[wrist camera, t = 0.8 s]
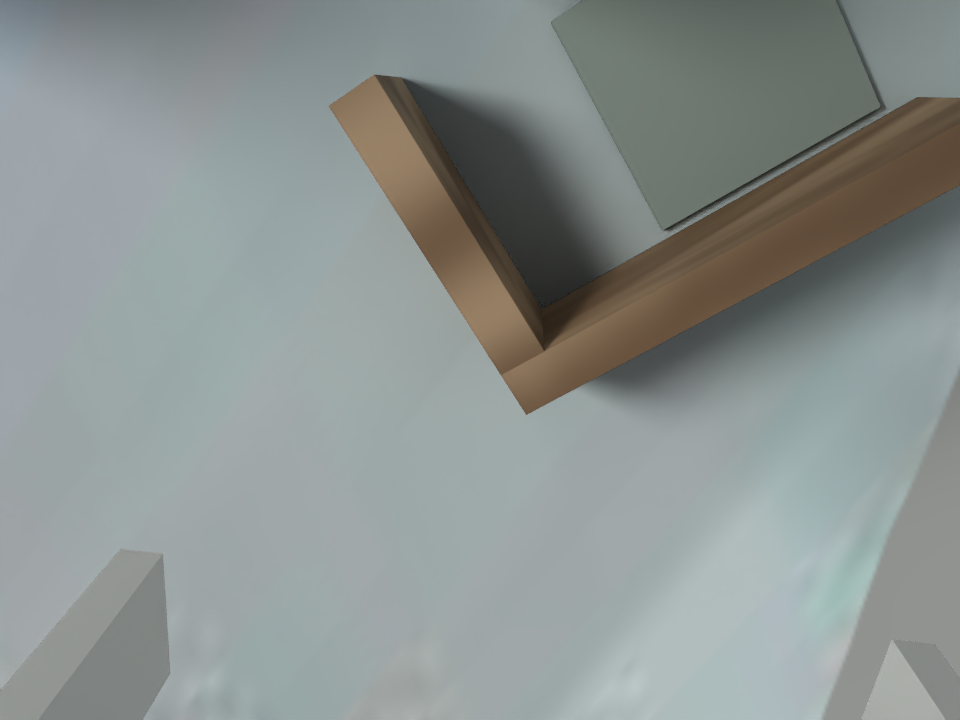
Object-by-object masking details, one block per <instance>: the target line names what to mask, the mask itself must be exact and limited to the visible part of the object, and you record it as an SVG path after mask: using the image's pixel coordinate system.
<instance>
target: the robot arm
mask: <svg viewBox="0 0 960 720" xmlns="http://www.w3.org/2000/svg"><path fill="white" fill-rule="evenodd" d="M169 674H170V662H169V645H168V629H167V613H166V597H165V580H164V564H163V554H159V553H151V552H142V551H134V550H125V549H120V550H119V552H118V553H117V554H116V555H115V556H114V558H113V559H112V560H111V561H110V562H109V563H108V565H107V566H106V567H105V568H104V569H103V570H102V572H101V573H100V574H99V575H98V576H97V578H96V579H95V580H94V581H93V582H92V583H91V585H90V586H89V587H88V588H87V589H86V590H85V592H84V593H83V594H82V595H81V596H80V597H79V599H78V600H77V601H76V602H75V603H74V605H73V606H72V607H71V608H70V609H69V610H68V612H67V613H66V614H65V615H64V616H63V617H62V619H61V620H60V621H59V622H58V623H57V624H56V626H55V627H54V628H53V629H52V630H51V632H50V633H49V634H48V635H47V636H46V637H45V639H44V640H43V641H42V642H41V643H40V644H39V646H38V647H37V648H36V649H35V650H34V652H33V653H32V654H31V655H30V656H29V657H28V659H27V660H26V661H25V662H24V663H23V664H22V666H21V667H20V668H19V669H18V670H17V671H16V673H15V674H14V675H13V676H12V677H11V679H10V680H9V681H8V682H7V683H6V684H5V686H4V687H3V688H2V689H1V690H0V720H143V718H144V717H145V715H146V713H147V712H148V710H149V708H150V706H151V705H152V703H153V701H154V700H155V698H156V696H157V695H158V693H159V691H160V689H161V688H162V686H163V684H164V683H165V681H166V679H167V678H168V676H169ZM862 720H960V678H959V676H958V675H957V673H956V672H955V671H954V669H953V668H952V667H951V665H950V664H949V662H948V661H947V660H946V658H945V657H944V656H943V654H942V653H941V652H940V650H939V649H938V648H937V646H936V645H935V644H927V643H919V642H911V641H902V640H894V639H893V640H892V641H891V644H890V646H889V649H888V651H887V654H886V657H885V659H884V662H883V665H882V667H881V670H880V672H879V675H878V678H877V680H876V683H875V686H874V689H873V691H872V694H871V696H870V699H869V701H868V704H867V707H866V709H865V712H864V715H863V717H862Z"/></svg>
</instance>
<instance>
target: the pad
mask: <svg viewBox="0 0 960 720" xmlns="http://www.w3.org/2000/svg"><path fill="white" fill-rule="evenodd" d="M551 24H552V25H553V27H554V29H555V31H556V33H557V35H558V37H559V39H560V40H561V42H562V44H563V46H564V48H565V50H566V52H567V54H568V55H569V57H570V59H571V61H572V63H573V65H574V67H575V68H576V70H577V72H578V74H579V76H580V78H581V80H582V82H583V83H584V85H585V87H586V89H587V91H588V93H589V95H590V97H591V98H592V100H593V102H594V104H595V106H596V108H597V110H598V111H599V113H600V115H601V117H602V119H603V121H604V123H605V125H606V126H607V128H608V130H609V132H610V134H611V136H612V138H613V140H614V141H615V143H616V145H617V147H618V149H619V151H620V153H621V155H622V156H623V158H624V160H625V162H626V164H627V166H628V168H629V169H630V171H631V173H632V175H633V177H634V179H635V181H636V183H637V184H638V186H639V188H640V190H641V192H642V194H643V196H644V198H645V199H646V201H647V203H648V205H649V207H650V209H651V211H652V212H653V214H654V216H655V218H656V220H657V222H658V224H659V226H660V227H661V229H662V230H664V229H666V228H668V227H670V226H672V225H673V224H675V223H677V222H679V221H680V220H682V219H684V218H686V217H687V216H689V215H691V214H693V213H694V212H696V211H698V210H700V209H701V208H703V207H705V206H707V205H708V204H710V203H712V202H714V201H716V200H717V199H719V198H721V197H723V196H724V195H726V194H728V193H730V192H731V191H733V190H735V189H737V188H738V187H740V186H742V185H744V184H745V183H747V182H749V181H751V180H752V179H754V178H756V177H758V176H760V175H761V174H763V173H765V172H767V171H768V170H770V169H772V168H774V167H775V166H777V165H779V164H781V163H782V162H784V161H786V160H788V159H789V158H791V157H793V156H795V155H796V154H798V153H800V152H802V151H804V150H805V149H807V148H809V147H811V146H812V145H814V144H816V143H818V142H819V141H821V140H823V139H825V138H826V137H828V136H830V135H832V134H833V133H835V132H837V131H839V130H841V129H842V128H844V127H846V126H848V125H849V124H851V123H853V122H855V121H856V120H858V119H860V118H862V117H863V116H865V115H867V114H869V113H870V112H872V111H874V110H876V109H877V108H879V107H881V106H880V103H879V101H878V99H877V96H876V94H875V91H874V89H873V87H872V84H871V82H870V80H869V77H868V75H867V73H866V70H865V68H864V65H863V63H862V61H861V58H860V56H859V54H858V51H857V49H856V46H855V44H854V42H853V39H852V37H851V35H850V32H849V30H848V28H847V25H846V23H845V20H844V18H843V16H842V13H841V11H840V9H839V6H838V4H837V1H836V0H583V1H582V2H580V3H579V4H577V5H576V6H574V7H573V8H571V9H570V10H568V11H567V12H565V13H564V14H562V15H561V16H559V17H558V18H556V19H555V20H553V21H552V22H551Z"/></svg>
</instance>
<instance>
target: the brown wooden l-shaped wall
mask: <svg viewBox="0 0 960 720" xmlns="http://www.w3.org/2000/svg"><path fill="white" fill-rule="evenodd" d="M329 107H330V109H331V110H332V112H333V114H334V115H335V117H336V118H337V120H338V121H339V123H340V125H341V126H342V128H343V129H344V131H345V132H346V134H347V135H348V137H349V139H350V140H351V142H352V143H353V145H354V146H355V148H356V149H357V151H358V153H359V154H360V156H361V157H362V159H363V160H364V162H365V164H366V165H367V167H368V168H369V170H370V171H371V173H372V174H373V176H374V178H375V179H376V181H377V182H378V184H379V185H380V187H381V189H382V190H383V192H384V193H385V195H386V196H387V198H388V199H389V201H390V203H391V204H392V206H393V207H394V209H395V210H396V212H397V214H398V215H399V217H400V218H401V220H402V221H403V223H404V224H405V226H406V228H407V229H408V231H409V232H410V234H411V235H412V237H413V239H414V240H415V242H416V243H417V245H418V246H419V248H420V249H421V251H422V253H423V254H424V256H425V257H426V259H427V260H428V262H429V264H430V265H431V267H432V268H433V270H434V271H435V273H436V274H437V276H438V278H439V279H440V281H441V282H442V284H443V285H444V287H445V289H446V290H447V292H448V293H449V295H450V296H451V298H452V299H453V301H454V303H455V304H456V306H457V307H458V309H459V310H460V312H461V314H462V315H463V317H464V318H465V320H466V321H467V323H468V324H469V326H470V328H471V329H472V331H473V332H474V334H475V335H476V337H477V338H478V340H479V342H480V343H481V345H482V346H483V348H484V349H485V351H486V353H487V354H488V356H489V357H490V359H491V360H492V362H493V363H494V365H495V367H496V368H497V370H498V371H499V373H500V374H501V376H502V378H503V379H504V381H505V382H506V384H507V385H508V387H509V388H510V390H511V392H512V393H513V395H514V396H515V398H516V399H517V401H518V403H519V404H520V406H521V407H522V409H523V410H524V412H525V413H526V415H527V414H529V413H531V412H532V411H534V410H536V409H538V408H540V407H542V406H544V405H546V404H548V403H549V402H551V401H553V400H555V399H557V398H559V397H561V396H563V395H565V394H566V393H568V392H570V391H572V390H574V389H576V388H578V387H580V386H581V385H583V384H585V383H587V382H589V381H591V380H593V379H595V378H597V377H598V376H600V375H602V374H604V373H606V372H608V371H610V370H612V369H614V368H615V367H617V366H619V365H621V364H623V363H625V362H627V361H629V360H631V359H632V358H634V357H636V356H638V355H640V354H642V353H644V352H646V351H648V350H649V349H651V348H653V347H655V346H657V345H659V344H661V343H663V342H664V341H666V340H668V339H670V338H672V337H674V336H676V335H678V334H680V333H681V332H683V331H685V330H687V329H689V328H691V327H693V326H695V325H697V324H698V323H700V322H702V321H704V320H706V319H708V318H710V317H712V316H714V315H715V314H717V313H719V312H721V311H723V310H725V309H727V308H729V307H731V306H732V305H734V304H736V303H738V302H740V301H742V300H744V299H746V298H747V297H749V296H751V295H753V294H755V293H757V292H759V291H761V290H763V289H764V288H766V287H768V286H770V285H772V284H774V283H776V282H778V281H780V280H781V279H783V278H785V277H787V276H789V275H791V274H793V273H795V272H797V271H798V270H800V269H802V268H804V267H806V266H808V265H810V264H812V263H814V262H815V261H817V260H819V259H821V258H823V257H825V256H827V255H829V254H831V253H832V252H834V251H836V250H838V249H840V248H842V247H844V246H846V245H847V244H849V243H851V242H853V241H855V240H857V239H859V238H861V237H863V236H864V235H866V234H868V233H870V232H872V231H874V230H876V229H878V228H880V227H881V226H883V225H885V224H887V223H889V222H891V221H893V220H895V219H897V218H898V217H900V216H902V215H904V214H906V213H908V212H910V211H912V210H914V209H915V208H917V207H919V206H921V205H923V204H925V203H927V202H929V201H930V200H932V199H934V198H936V197H938V196H940V195H942V194H944V193H946V192H947V191H949V190H951V189H953V188H955V187H957V186H959V185H960V98H928V97H917V98H915V99H913V100H912V101H910V102H908V103H906V104H905V105H903V106H901V107H899V108H897V109H896V110H894V111H892V112H890V113H889V114H887V115H885V116H883V117H882V118H880V119H878V120H876V121H874V122H873V123H871V124H869V125H867V126H866V127H864V128H862V129H860V130H858V131H857V132H855V133H853V134H851V135H850V136H848V137H846V138H844V139H843V140H841V141H839V142H837V143H835V144H834V145H832V146H830V147H828V148H827V149H825V150H823V151H821V152H820V153H818V154H816V155H814V156H812V157H811V158H809V159H807V160H805V161H804V162H802V163H800V164H798V165H796V166H795V167H793V168H791V169H789V170H788V171H786V172H784V173H782V174H781V175H779V176H777V177H775V178H773V179H772V180H770V181H768V182H766V183H765V184H763V185H761V186H759V187H758V188H756V189H754V190H752V191H750V192H749V193H747V194H745V195H743V196H742V197H740V198H738V199H736V200H734V201H733V202H731V203H729V204H727V205H726V206H724V207H722V208H720V209H719V210H717V211H715V212H713V213H711V214H710V215H708V216H706V217H704V218H703V219H701V220H699V221H697V222H696V223H694V224H692V225H690V226H688V227H687V228H685V229H683V230H681V231H680V232H678V233H676V234H674V235H672V236H671V237H669V238H667V239H665V240H664V241H662V242H660V243H658V244H657V245H655V246H653V247H651V248H649V249H648V250H646V251H644V252H642V253H641V254H639V255H637V256H635V257H634V258H632V259H630V260H628V261H626V262H625V263H623V264H621V265H619V266H618V267H616V268H614V269H612V270H610V271H609V272H607V273H605V274H603V275H602V276H600V277H598V278H596V279H595V280H593V281H591V282H589V283H587V284H586V285H584V286H582V287H580V288H579V289H577V290H575V291H573V292H571V293H570V294H568V295H566V296H564V297H563V298H561V299H559V300H557V301H556V302H554V303H552V304H550V305H548V306H547V307H545V308H543V309H541V308H540V306H539V304H538V303H537V301H536V299H535V298H534V296H533V294H532V293H531V291H530V290H529V288H528V286H527V285H526V283H525V281H524V280H523V278H522V276H521V275H520V273H519V271H518V270H517V268H516V266H515V265H514V263H513V261H512V260H511V258H510V256H509V255H508V253H507V251H506V250H505V248H504V247H503V245H502V243H501V242H500V240H499V238H498V237H497V235H496V233H495V232H494V230H493V228H492V227H491V225H490V223H489V222H488V220H487V218H486V217H485V215H484V213H483V212H482V210H481V208H480V207H479V205H478V204H477V202H476V200H475V199H474V197H473V195H472V194H471V192H470V190H469V189H468V187H467V185H466V184H465V182H464V180H463V179H462V177H461V175H460V174H459V172H458V170H457V169H456V167H455V166H454V164H453V162H452V161H451V159H450V157H449V156H448V154H447V152H446V151H445V149H444V147H443V146H442V144H441V142H440V141H439V139H438V137H437V136H436V134H435V132H434V131H433V129H432V127H431V126H430V124H429V123H428V121H427V119H426V118H425V116H424V114H423V113H422V111H421V109H420V108H419V106H418V104H417V103H416V101H415V99H414V98H413V96H412V94H411V93H410V91H409V89H408V88H407V86H406V84H405V83H404V81H403V80H402V78H401V77H391V76H382V75H373V76H372V77H370V78H369V79H367V80H366V81H364V82H363V83H361V84H360V85H359V86H357V87H356V88H354V89H353V90H351V91H350V92H348V93H347V94H345V95H344V96H343V97H341V98H340V99H338V100H337V101H335V102H334V103H332V104H331V105H329Z"/></svg>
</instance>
